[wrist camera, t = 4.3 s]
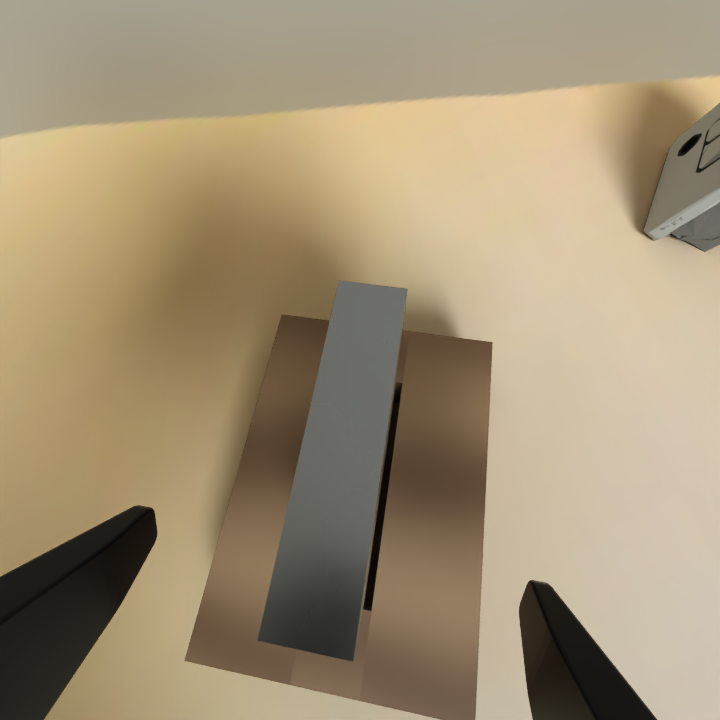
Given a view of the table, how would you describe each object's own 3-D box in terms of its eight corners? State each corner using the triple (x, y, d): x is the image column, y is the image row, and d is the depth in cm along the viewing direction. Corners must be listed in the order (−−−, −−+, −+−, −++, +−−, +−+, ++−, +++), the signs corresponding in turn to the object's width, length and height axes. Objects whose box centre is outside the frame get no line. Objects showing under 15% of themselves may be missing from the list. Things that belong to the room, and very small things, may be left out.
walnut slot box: (453, 684, 17) (474, 727, 13) (224, 634, 18) (184, 660, 14) (473, 374, 22) (492, 342, 18) (296, 349, 23) (281, 314, 19)
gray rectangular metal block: (367, 586, 17) (352, 661, 7) (326, 578, 17) (257, 640, 7) (392, 409, 20) (407, 288, 10) (357, 404, 21) (338, 280, 10)
